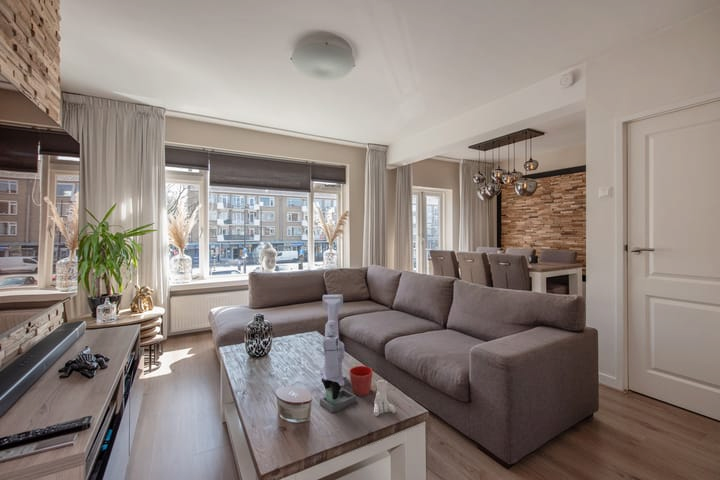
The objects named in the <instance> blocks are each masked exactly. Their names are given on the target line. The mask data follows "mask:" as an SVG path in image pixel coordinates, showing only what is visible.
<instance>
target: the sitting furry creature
mask: <svg viewBox="0 0 720 480" xmlns="http://www.w3.org/2000/svg"><path fill="white" fill-rule="evenodd" d="M374 384H375V385H376V390H377V392H376V394H375V398H374V403H373V416H374V417H378V416H379V415H380V414H384V413H388V412H391V413H392V414H395V413H396V411H397V409H396V407H395V405H394V404H392V403H390V402H389V400H388V394H387V392H386V391H387V390H388V380H387V381H386V380H384V379H381V380H380V379H378V380H377V381H374Z"/></svg>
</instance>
